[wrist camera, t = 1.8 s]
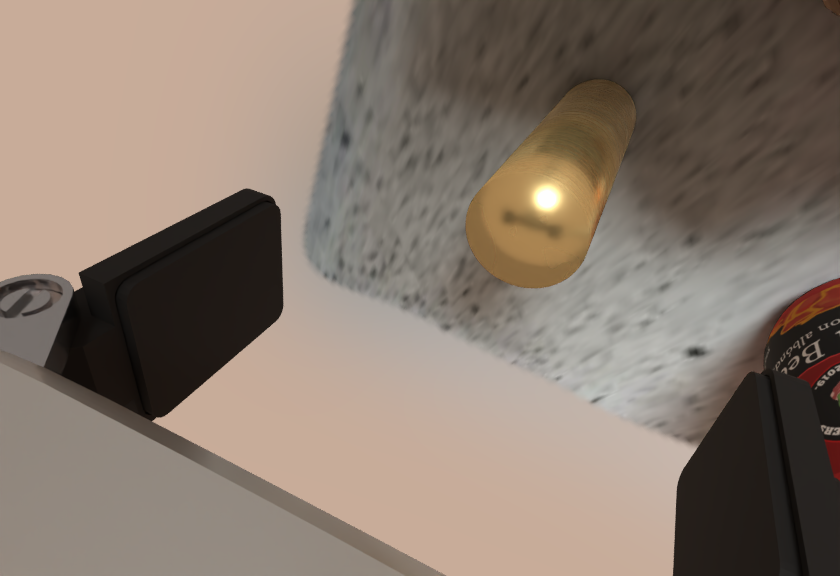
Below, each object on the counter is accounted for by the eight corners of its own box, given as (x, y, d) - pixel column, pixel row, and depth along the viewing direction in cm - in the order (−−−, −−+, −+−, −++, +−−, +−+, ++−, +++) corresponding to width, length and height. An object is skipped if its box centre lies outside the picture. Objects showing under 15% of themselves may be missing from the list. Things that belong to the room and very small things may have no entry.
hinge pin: (568, 71, 20) (477, 158, 12) (648, 89, 19) (607, 195, 11) (547, 146, 22) (456, 265, 14) (620, 166, 21) (568, 304, 13)
